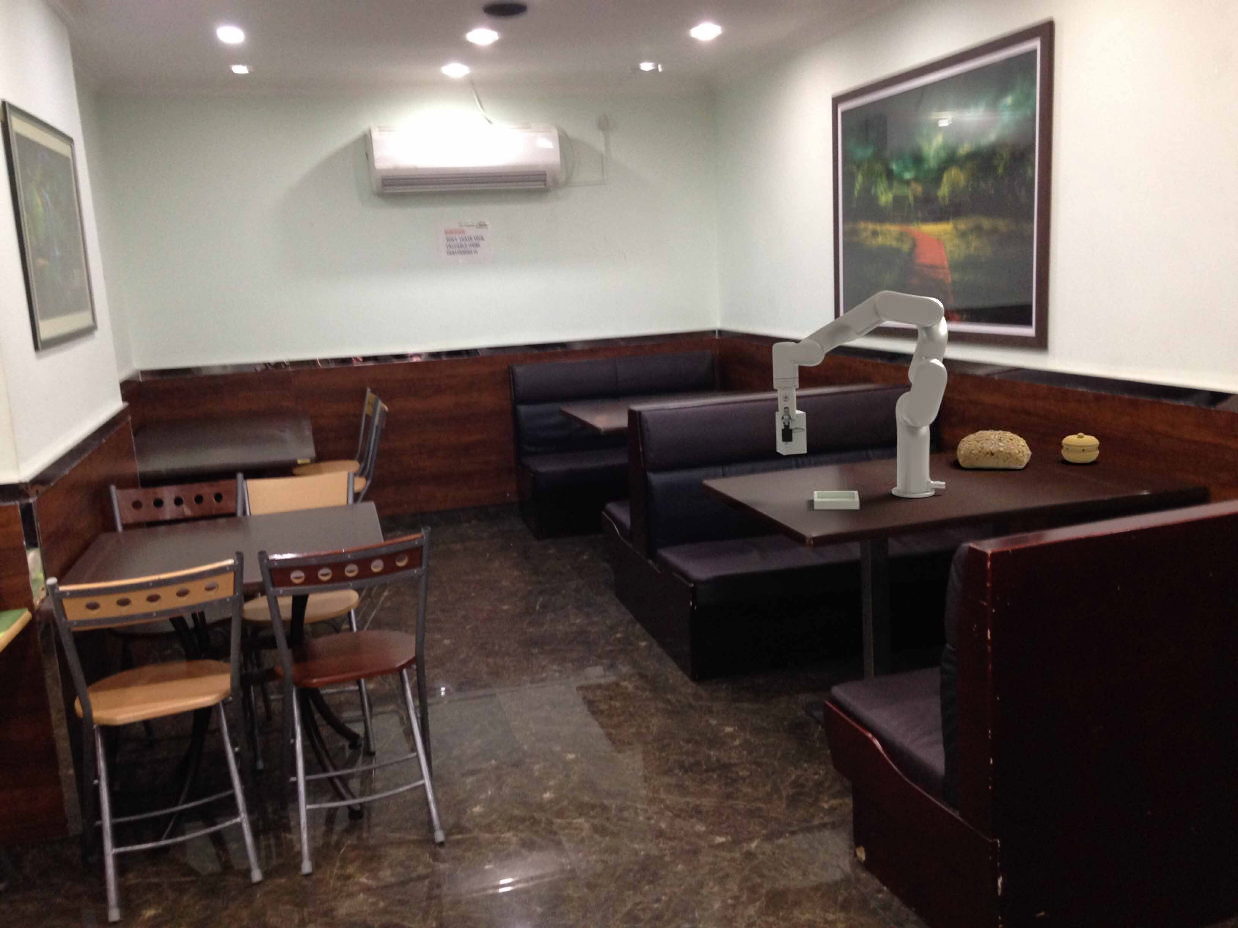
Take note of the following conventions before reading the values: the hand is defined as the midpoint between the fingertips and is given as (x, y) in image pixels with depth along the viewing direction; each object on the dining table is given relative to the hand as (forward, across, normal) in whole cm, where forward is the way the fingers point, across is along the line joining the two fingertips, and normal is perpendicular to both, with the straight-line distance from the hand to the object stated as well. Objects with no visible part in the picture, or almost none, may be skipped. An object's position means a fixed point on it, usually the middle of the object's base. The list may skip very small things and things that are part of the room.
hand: (787, 438), depth 318 cm
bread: (+20, +49, -68) cm, 86 cm away
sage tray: (+19, -8, -14) cm, 25 cm away
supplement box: (+4, 0, -1) cm, 5 cm away
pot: (+20, +51, -97) cm, 111 cm away
